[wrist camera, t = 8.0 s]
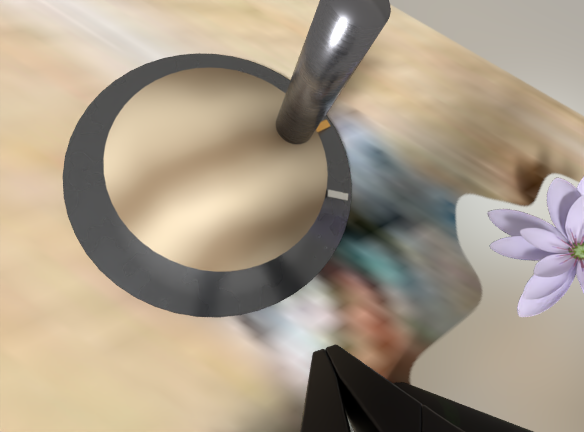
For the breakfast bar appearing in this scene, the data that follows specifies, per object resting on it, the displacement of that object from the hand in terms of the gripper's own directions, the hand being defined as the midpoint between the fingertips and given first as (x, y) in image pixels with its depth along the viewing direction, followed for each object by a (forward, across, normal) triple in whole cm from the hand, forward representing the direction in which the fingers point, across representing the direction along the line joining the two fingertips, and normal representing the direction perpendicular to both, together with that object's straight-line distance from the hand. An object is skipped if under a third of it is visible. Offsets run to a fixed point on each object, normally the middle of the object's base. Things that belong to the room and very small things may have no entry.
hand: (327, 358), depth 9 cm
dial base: (+16, -3, +4) cm, 16 cm away
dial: (+14, -2, +5) cm, 15 cm away
